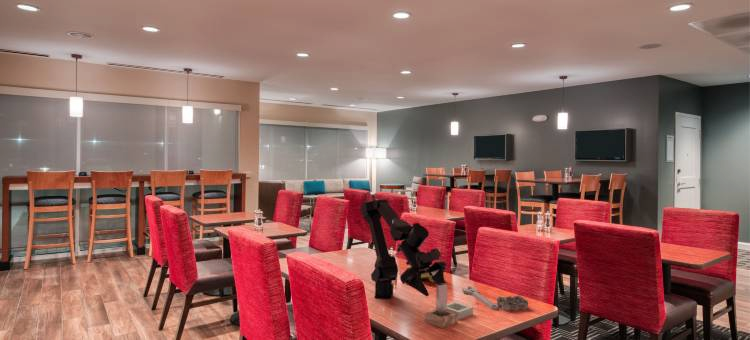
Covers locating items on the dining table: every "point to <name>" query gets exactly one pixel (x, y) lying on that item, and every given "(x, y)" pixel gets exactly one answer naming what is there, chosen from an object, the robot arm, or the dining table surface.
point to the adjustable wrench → (479, 297)
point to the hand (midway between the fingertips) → (437, 293)
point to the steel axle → (441, 299)
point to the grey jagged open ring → (512, 303)
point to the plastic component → (428, 277)
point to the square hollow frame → (460, 309)
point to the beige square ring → (441, 318)
